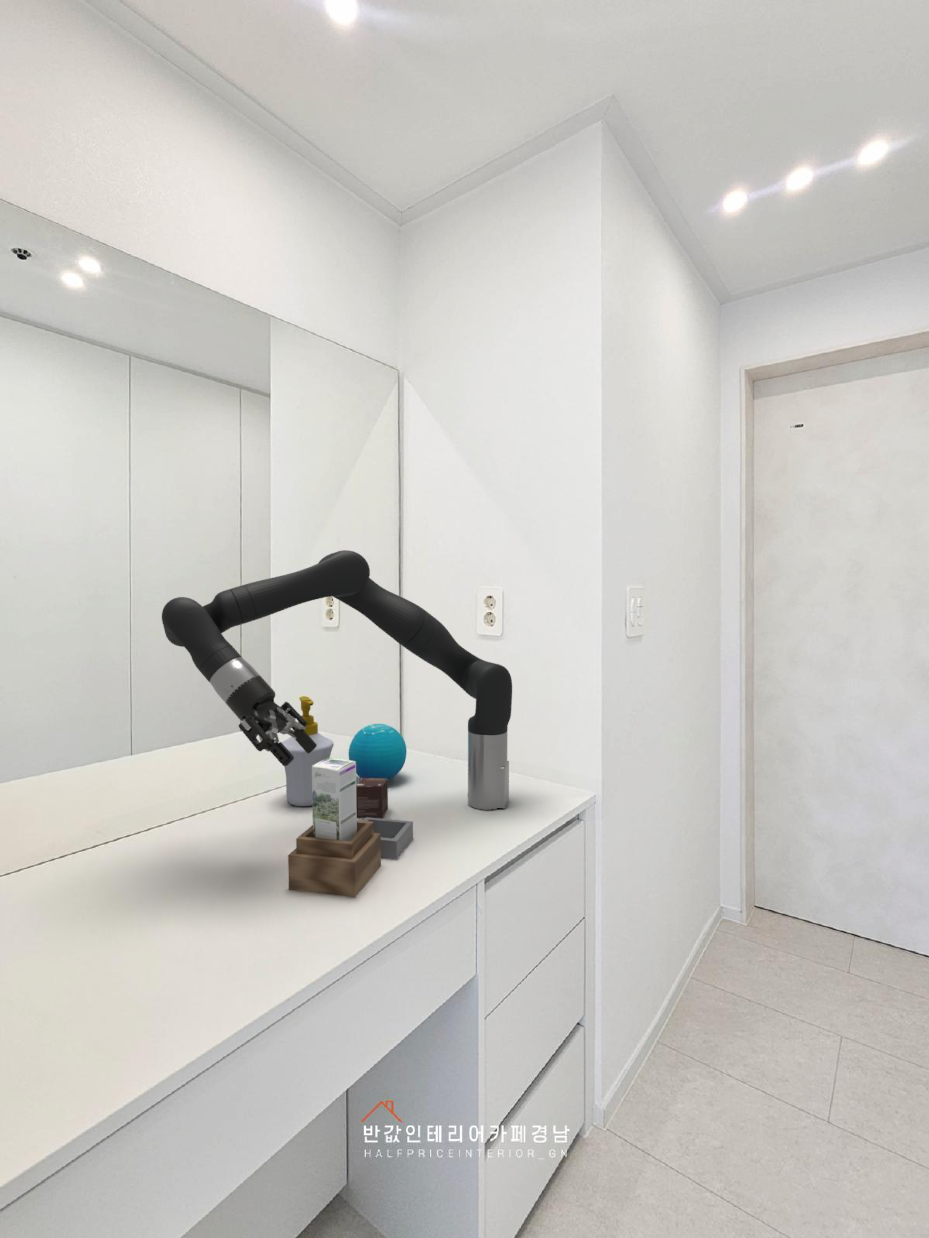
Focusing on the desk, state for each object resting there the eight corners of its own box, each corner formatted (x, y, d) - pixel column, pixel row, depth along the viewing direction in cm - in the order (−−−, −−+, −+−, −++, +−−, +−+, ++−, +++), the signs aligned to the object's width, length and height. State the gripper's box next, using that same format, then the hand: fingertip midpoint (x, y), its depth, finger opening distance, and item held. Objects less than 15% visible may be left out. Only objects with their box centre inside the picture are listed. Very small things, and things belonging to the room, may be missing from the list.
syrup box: (358, 839, 111) (357, 759, 111) (339, 852, 106) (338, 768, 105) (331, 834, 114) (330, 756, 113) (311, 847, 108) (310, 764, 107)
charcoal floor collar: (412, 838, 127) (412, 821, 127) (396, 859, 117) (396, 841, 117) (366, 833, 129) (366, 817, 129) (346, 854, 119) (346, 836, 119)
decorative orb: (417, 776, 167) (416, 721, 166) (387, 793, 153) (387, 733, 153) (369, 769, 173) (368, 716, 172) (337, 785, 160) (336, 727, 159)
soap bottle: (285, 814, 140) (283, 705, 138) (274, 797, 151) (272, 695, 150) (340, 805, 146) (339, 700, 144) (326, 789, 157) (325, 691, 155)
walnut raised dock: (381, 865, 115) (380, 819, 114) (355, 897, 103) (354, 847, 102) (320, 859, 117) (319, 814, 117) (288, 889, 106) (287, 840, 105)
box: (388, 809, 143) (388, 777, 143) (382, 819, 137) (382, 786, 137) (362, 808, 144) (362, 777, 143) (355, 818, 138) (355, 785, 137)
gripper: (232, 680, 104) (296, 752, 102) (276, 669, 118) (333, 732, 116) (204, 710, 106) (267, 782, 104) (251, 695, 120) (307, 759, 118)
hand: (301, 756), depth 110 cm, fingers open, 8 cm apart
